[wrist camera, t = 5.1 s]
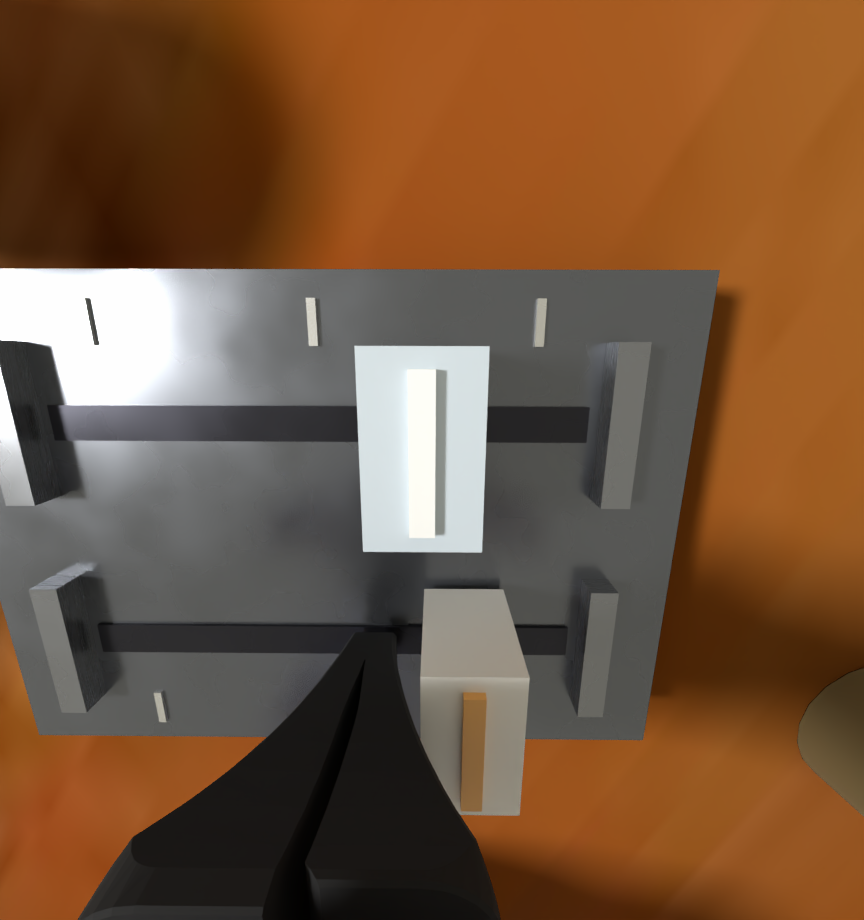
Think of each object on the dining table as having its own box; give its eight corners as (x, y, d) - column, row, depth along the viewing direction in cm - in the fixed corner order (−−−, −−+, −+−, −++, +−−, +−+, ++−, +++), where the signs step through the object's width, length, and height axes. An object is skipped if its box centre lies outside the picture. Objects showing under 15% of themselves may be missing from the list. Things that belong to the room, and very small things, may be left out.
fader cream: (497, 697, 13) (521, 824, 10) (424, 697, 13) (420, 823, 10) (503, 589, 12) (531, 684, 9) (424, 589, 12) (419, 684, 9)
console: (617, 693, 16) (654, 762, 13) (87, 689, 16) (16, 756, 13) (674, 284, 12) (742, 263, 10) (-14, 282, 12) (-139, 260, 10)
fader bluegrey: (468, 495, 12) (483, 557, 8) (384, 494, 12) (361, 556, 8) (471, 350, 11) (491, 345, 7) (380, 349, 11) (352, 345, 7)
